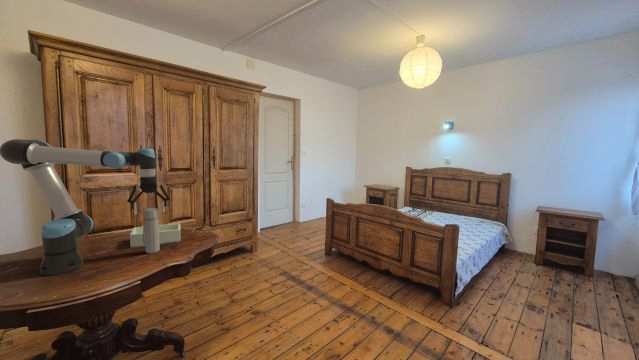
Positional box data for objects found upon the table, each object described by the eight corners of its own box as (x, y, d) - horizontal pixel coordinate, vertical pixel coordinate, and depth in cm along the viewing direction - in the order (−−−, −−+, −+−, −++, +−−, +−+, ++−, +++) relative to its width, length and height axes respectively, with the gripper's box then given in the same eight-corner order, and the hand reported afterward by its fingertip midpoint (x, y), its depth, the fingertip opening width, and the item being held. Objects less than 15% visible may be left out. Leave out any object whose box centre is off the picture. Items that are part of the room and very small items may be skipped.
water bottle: (163, 249, 156) (161, 208, 153) (153, 254, 148) (151, 211, 145) (148, 248, 156) (147, 207, 154) (138, 253, 149) (136, 210, 146)
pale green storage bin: (130, 247, 156) (129, 234, 155) (134, 239, 171) (134, 227, 170) (180, 241, 169) (180, 229, 168) (180, 234, 183) (180, 223, 182)
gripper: (119, 177, 138) (121, 217, 141) (173, 176, 150) (174, 212, 152) (121, 176, 145) (124, 213, 147) (173, 175, 156) (175, 210, 159)
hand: (150, 213), depth 150 cm, fingers open, 13 cm apart
